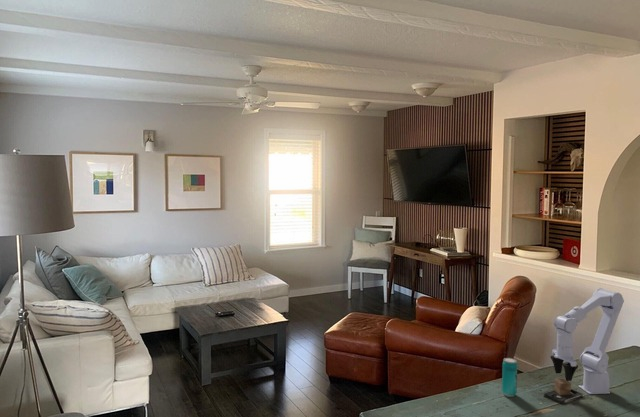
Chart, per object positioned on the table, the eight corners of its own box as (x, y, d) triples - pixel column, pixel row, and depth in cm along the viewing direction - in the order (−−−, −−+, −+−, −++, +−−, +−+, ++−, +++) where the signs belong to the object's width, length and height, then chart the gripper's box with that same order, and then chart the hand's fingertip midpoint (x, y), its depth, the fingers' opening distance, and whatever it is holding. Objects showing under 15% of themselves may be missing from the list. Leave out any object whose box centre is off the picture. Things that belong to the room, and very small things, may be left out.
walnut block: (564, 390, 212) (564, 378, 211) (570, 394, 207) (570, 383, 207) (554, 390, 211) (554, 378, 211) (559, 395, 207) (560, 383, 206)
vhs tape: (561, 405, 202) (561, 401, 201) (544, 398, 208) (544, 393, 208) (582, 398, 208) (583, 393, 208) (565, 391, 215) (565, 386, 215)
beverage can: (517, 398, 207) (518, 363, 206) (503, 396, 208) (504, 362, 207) (515, 392, 212) (516, 358, 211) (500, 391, 214) (501, 357, 213)
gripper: (545, 339, 214) (545, 370, 215) (565, 351, 200) (564, 384, 201) (561, 339, 215) (560, 369, 216) (581, 351, 201) (580, 383, 202)
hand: (563, 376), depth 209 cm, fingers open, 7 cm apart
